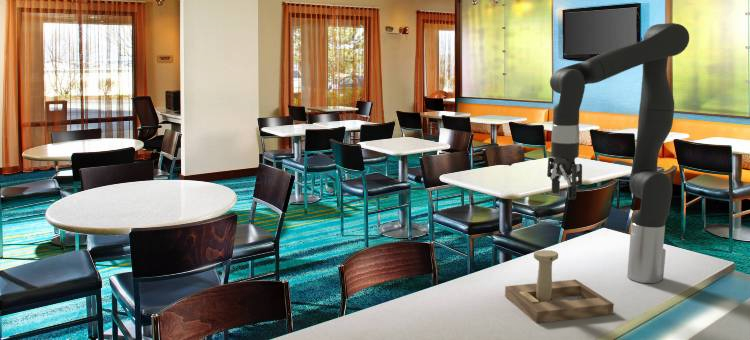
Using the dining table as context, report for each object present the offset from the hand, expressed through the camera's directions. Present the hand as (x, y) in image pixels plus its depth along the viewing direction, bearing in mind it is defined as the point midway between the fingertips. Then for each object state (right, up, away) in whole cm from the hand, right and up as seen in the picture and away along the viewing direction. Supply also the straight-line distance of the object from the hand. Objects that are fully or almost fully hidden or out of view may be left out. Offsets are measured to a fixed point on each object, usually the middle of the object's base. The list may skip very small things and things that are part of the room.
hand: (563, 196), depth 176 cm
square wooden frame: (-5, -29, -10) cm, 31 cm away
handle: (-9, -30, -11) cm, 33 cm away
